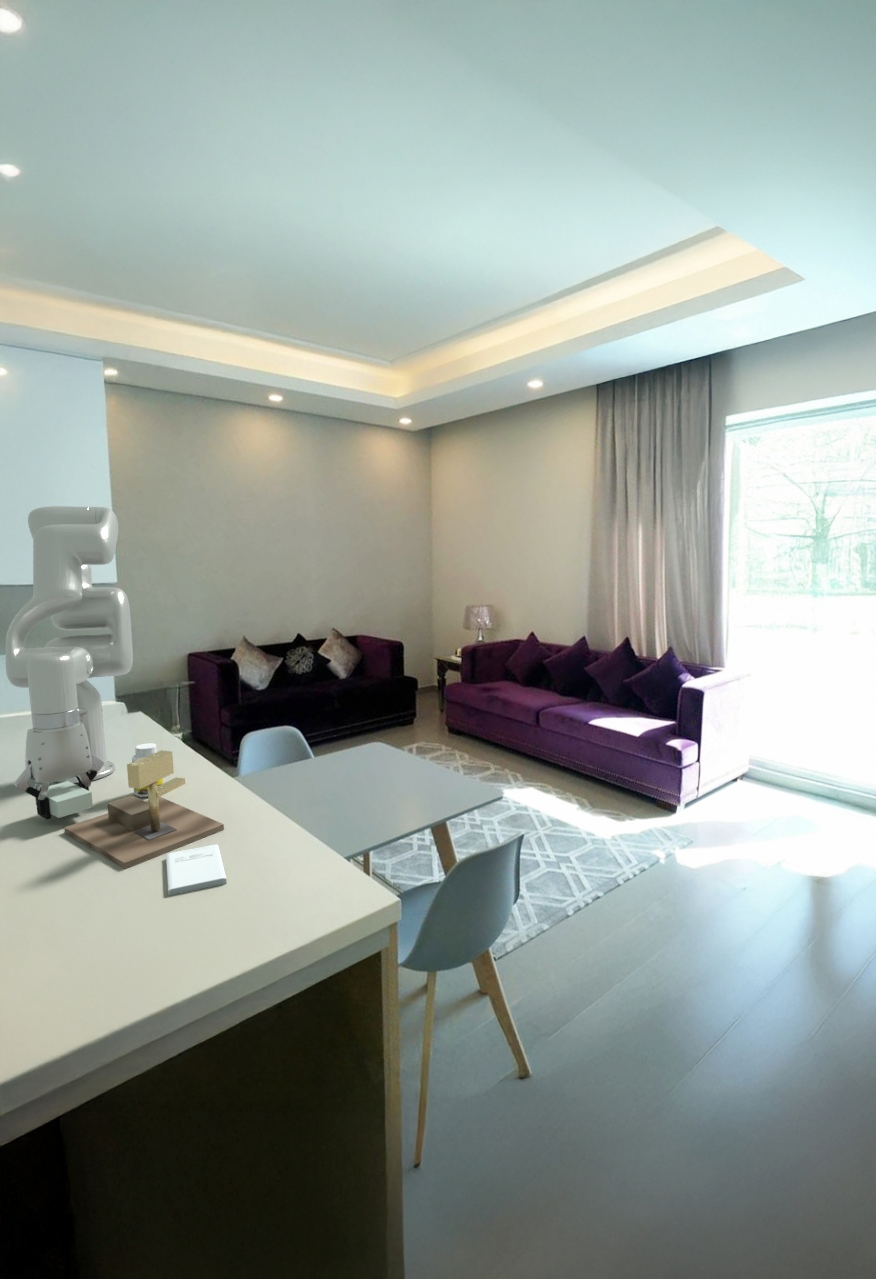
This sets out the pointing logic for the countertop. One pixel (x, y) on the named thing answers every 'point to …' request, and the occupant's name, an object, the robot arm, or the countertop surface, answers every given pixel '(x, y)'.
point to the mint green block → (68, 799)
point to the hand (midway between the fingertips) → (64, 810)
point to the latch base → (141, 830)
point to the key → (153, 780)
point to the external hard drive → (194, 869)
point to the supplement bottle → (141, 752)
